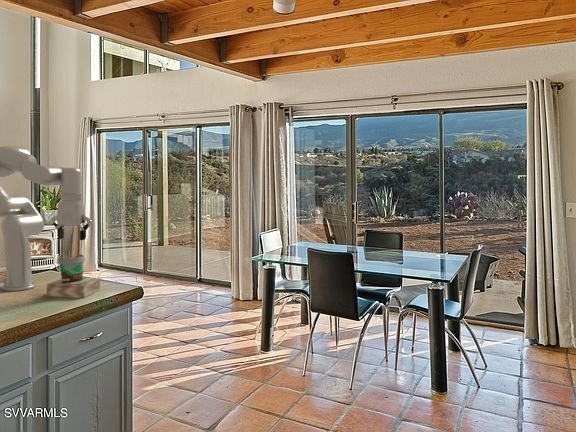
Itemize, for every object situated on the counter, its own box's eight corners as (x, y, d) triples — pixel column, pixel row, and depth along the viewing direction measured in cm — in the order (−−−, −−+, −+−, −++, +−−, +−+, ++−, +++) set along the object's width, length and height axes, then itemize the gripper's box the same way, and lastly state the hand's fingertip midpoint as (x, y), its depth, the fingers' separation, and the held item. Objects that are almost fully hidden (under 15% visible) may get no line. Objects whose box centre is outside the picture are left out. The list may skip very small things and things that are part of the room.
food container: (73, 284, 185) (72, 259, 184) (59, 283, 186) (58, 258, 185) (91, 277, 197) (91, 254, 196) (78, 277, 198) (78, 253, 197)
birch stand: (46, 296, 187) (46, 283, 186) (64, 289, 199) (64, 276, 199) (84, 298, 185) (83, 284, 185) (99, 290, 197) (99, 278, 197)
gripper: (45, 197, 187) (46, 239, 189) (86, 199, 185) (86, 241, 187) (57, 196, 194) (57, 237, 196) (96, 198, 192) (96, 239, 194)
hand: (71, 239), depth 191 cm, fingers open, 9 cm apart
